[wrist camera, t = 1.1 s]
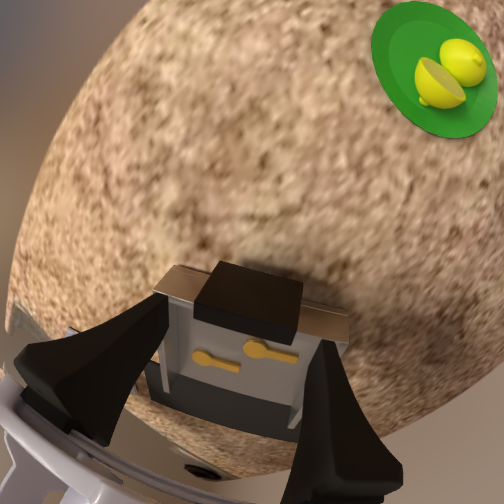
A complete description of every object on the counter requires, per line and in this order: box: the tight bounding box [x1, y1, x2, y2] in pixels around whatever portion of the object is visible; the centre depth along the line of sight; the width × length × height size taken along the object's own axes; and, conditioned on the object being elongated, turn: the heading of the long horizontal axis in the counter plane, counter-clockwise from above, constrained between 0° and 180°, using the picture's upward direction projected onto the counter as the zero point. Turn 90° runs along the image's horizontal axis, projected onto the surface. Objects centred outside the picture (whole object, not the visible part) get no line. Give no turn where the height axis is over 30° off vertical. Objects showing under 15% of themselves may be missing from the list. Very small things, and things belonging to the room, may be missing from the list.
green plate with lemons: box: [371, 1, 498, 138], centre depth 8 cm, size 8×8×3 cm
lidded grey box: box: [153, 261, 349, 429], centre depth 18 cm, size 14×12×5 cm
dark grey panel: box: [144, 360, 302, 443], centre depth 27 cm, size 20×9×1 cm, turn 80°
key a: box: [192, 349, 241, 373], centre depth 22 cm, size 4×2×1 cm, turn 80°
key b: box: [243, 340, 299, 364], centre depth 20 cm, size 4×2×1 cm, turn 80°
